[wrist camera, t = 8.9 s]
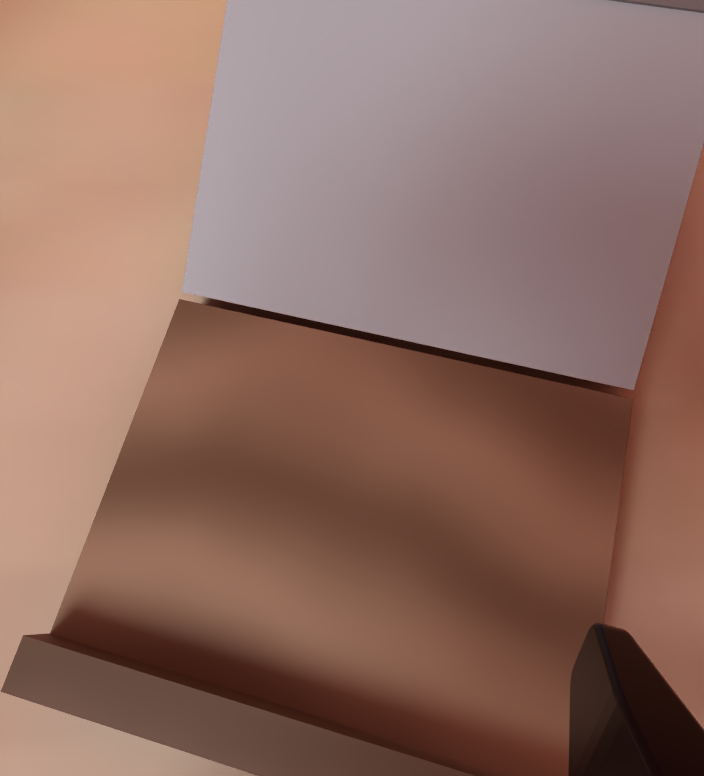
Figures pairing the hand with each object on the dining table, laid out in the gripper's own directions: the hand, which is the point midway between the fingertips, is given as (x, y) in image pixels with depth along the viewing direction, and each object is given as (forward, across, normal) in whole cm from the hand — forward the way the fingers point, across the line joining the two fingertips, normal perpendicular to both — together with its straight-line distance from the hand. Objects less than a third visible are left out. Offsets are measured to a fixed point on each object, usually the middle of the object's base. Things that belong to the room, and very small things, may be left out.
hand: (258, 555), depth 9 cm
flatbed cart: (+10, 0, +8) cm, 13 cm away
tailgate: (+14, 0, +2) cm, 14 cm away
